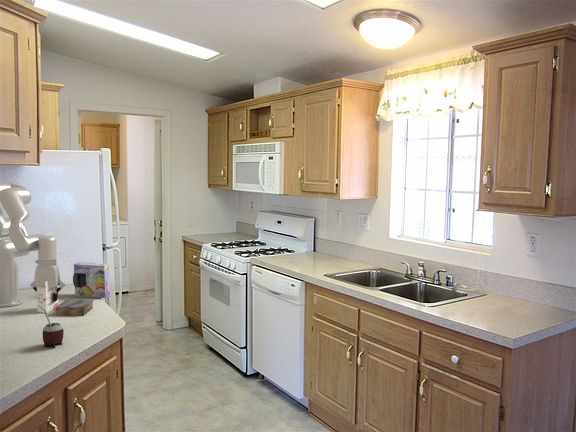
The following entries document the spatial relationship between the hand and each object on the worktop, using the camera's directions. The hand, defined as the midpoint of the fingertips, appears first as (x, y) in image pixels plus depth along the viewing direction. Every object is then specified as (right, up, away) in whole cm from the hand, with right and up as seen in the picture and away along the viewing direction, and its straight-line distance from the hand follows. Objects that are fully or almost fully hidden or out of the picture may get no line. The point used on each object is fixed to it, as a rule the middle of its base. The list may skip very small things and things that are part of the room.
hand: (47, 300), depth 219 cm
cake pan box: (+9, -3, +27) cm, 28 cm away
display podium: (+13, -5, -1) cm, 14 cm away
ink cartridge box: (0, -5, 0) cm, 5 cm away
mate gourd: (+23, -9, -43) cm, 49 cm away
